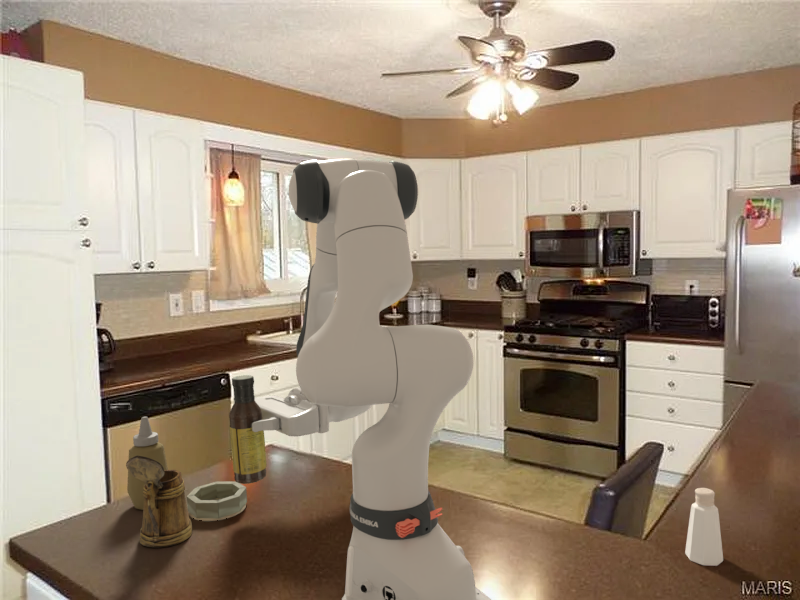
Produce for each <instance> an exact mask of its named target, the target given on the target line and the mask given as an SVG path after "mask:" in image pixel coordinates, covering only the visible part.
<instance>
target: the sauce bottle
mask: <svg viewBox="0 0 800 600" xmlns="http://www.w3.org/2000/svg"><path fill="white" fill-rule="evenodd" d="M231 383H232V384H231V386H232V388H233V401H234V403H233V405H232V407H231V409H230V410H229V414H228V417H229V433H230V434H229V435H230V446H231V447H230V448H231V459H232V460H231V461H232V471H233V475H234V476H233V479H234V481H236V482H238V483H240V484H242V485H246V484H247V485H248V484H254V483H257V482H259V481H261V480H263V479H265V477H266V476H267V466H268V465H267V453H266V441H265V431H263V430H262V431H258V432H254V431H252V430H250V422H251V421H255V420H263V417H262V411H261V409H260V407H259V405H258V404H257V403H256V402H255V397H256V396H255V390H254V387H255V379H254V375H250V374H249V375H248V374H246V375H244V374H243V375H237V376H234V377H232V378H231Z"/></svg>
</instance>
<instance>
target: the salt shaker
mask: <svg viewBox="0 0 800 600" xmlns="http://www.w3.org/2000/svg"><path fill="white" fill-rule="evenodd" d="M694 493H695V495H694V497H695V502H693V503H692V504H691V506H690V513H689V520H688V528H687V535H686V542H685V543H686V544H685V549H684V550H685V551H684V554H685V555H686V557H688V560H689V561H690V562H693V563H696V564H699V565H701V566H710V567H714V566H715V567H717V566H719V565H721V563H723V561H724V555H723V543H722V536H721V525H720V514H719V508H718V507H717V506H716V505H715V495H716V492H714V490H713V489H711V488H707V487H698V488H695V490H694Z"/></svg>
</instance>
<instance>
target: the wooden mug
mask: <svg viewBox="0 0 800 600" xmlns="http://www.w3.org/2000/svg"><path fill="white" fill-rule="evenodd" d="M125 466H126V469H127V472H128V471H129V473H130V474H131V475H132V476H133V477H135V478H137V479H139V480H141V481H143V482H144V483H145V485H144V489H143V496H144V507H143V510H142V524H141V528H140V529H139V530H140V531H139V544H140V545H142V546H144V547H147V548H153V549H155V548H157V549H158V548H160V549H161V548H168V547H171V546H176V545H179V544H181V543H183V542H185V541H186V540H188V539H189V538H190V537H191V536H192V534H193V525H192V520H191V518H190V515H189V512H188V508H187V497H186V494H185V491H186V485H185V480H184V478H183V477H182V472H181V471H179V470H176V469H168V470H164V468H163V466H162V465H161V464H160V463H159V462H157V461H155V460H153V459H150V458H147V457H143V456H138V455H137V456H135V457H133V458H131V459H129V458H128V460H127V461H126V464H125Z"/></svg>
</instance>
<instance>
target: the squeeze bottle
mask: <svg viewBox="0 0 800 600" xmlns="http://www.w3.org/2000/svg"><path fill="white" fill-rule="evenodd" d="M132 440H133V441H132V442H133V443H132V444H133V446H132V447H130V448H129V449H128V460H129V459H131V458H133V457H135V456H137V455H138V456H143V457H147V458H150V459H153V460H155V461H157V462H159V463H160V464H161V465H162V466H163V468H164V470H169V469H168V463H167V457H166V451H165V446H164V444H163V443H162V442H159V434H158V432H155V431H152V427H151V423H150V421H149V417H148V416H142V417H141V419H140V424H139V429H138V434H135V435H134V436H133V438H132ZM144 485H145V483H144V482H143V481H141V480H139V479H137V478H135V477H133V476H132V475H131V474H130V473H129V471H128V470H127V486H126V487H127V488H126V489H127V491H126V492H127V493H128V496H129V499H130V500H131V503H132V505H133V506H134V509H137V510H141V511H143V507H144V496H143V489H144Z"/></svg>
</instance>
